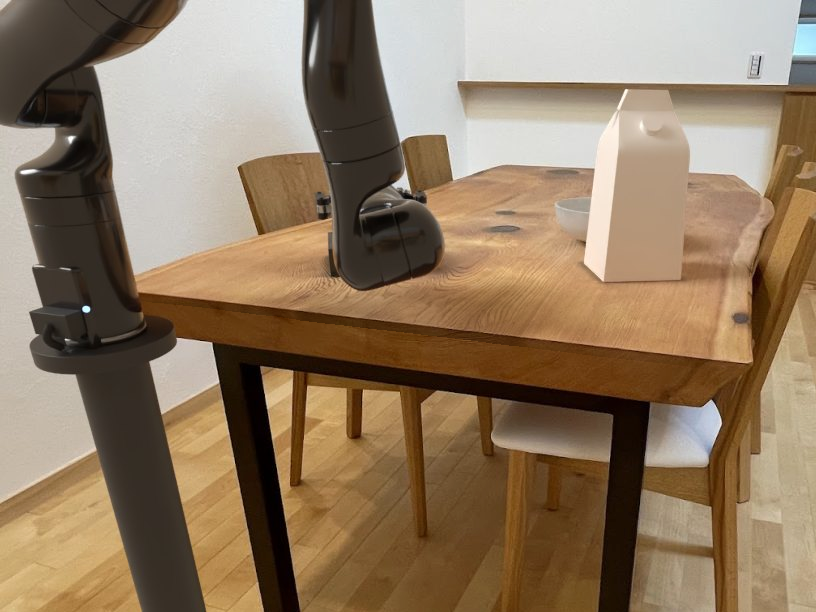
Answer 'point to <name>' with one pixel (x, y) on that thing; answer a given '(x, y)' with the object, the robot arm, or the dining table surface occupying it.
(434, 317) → the dining table surface
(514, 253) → the dining table surface
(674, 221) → the milk
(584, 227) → the serving bowl
